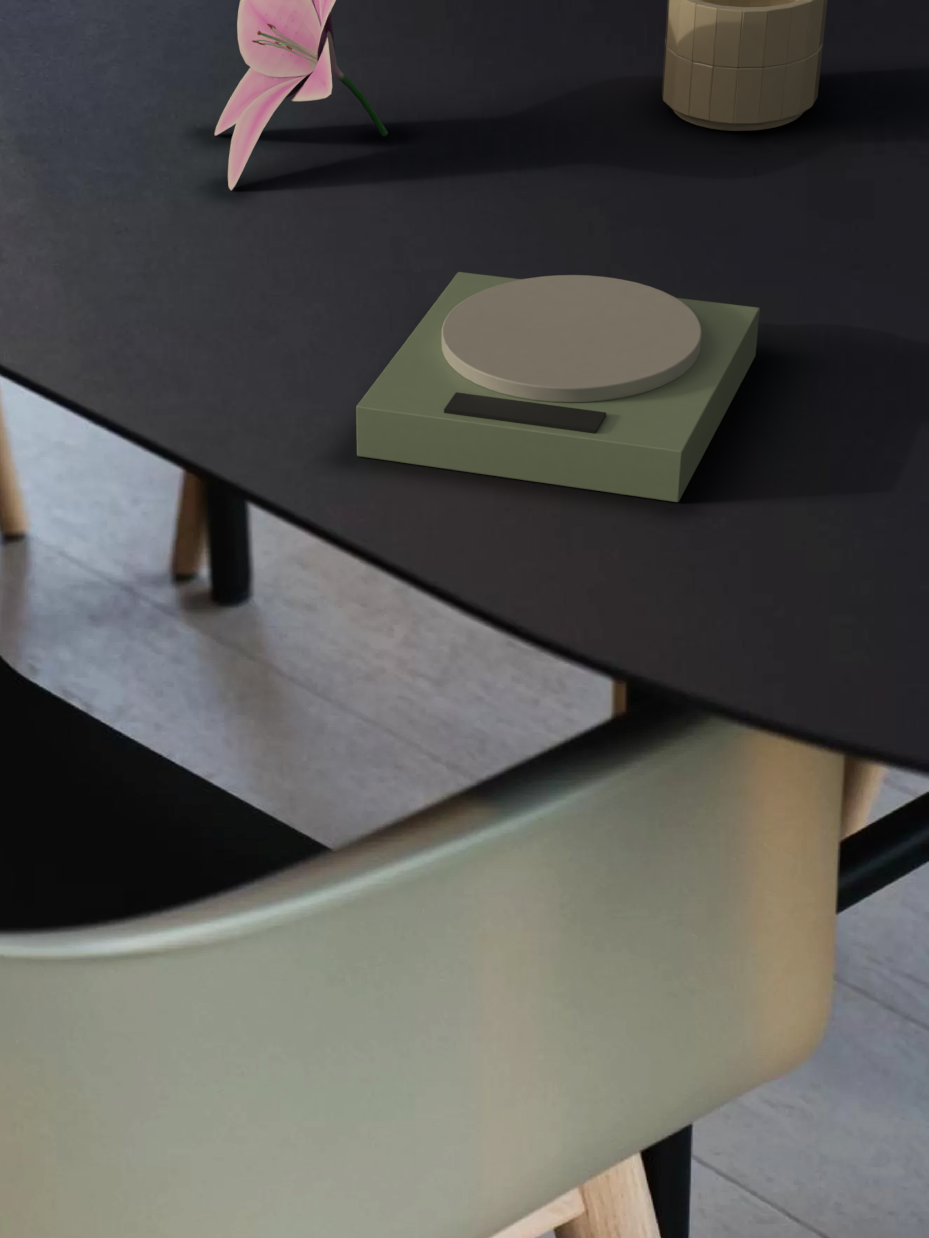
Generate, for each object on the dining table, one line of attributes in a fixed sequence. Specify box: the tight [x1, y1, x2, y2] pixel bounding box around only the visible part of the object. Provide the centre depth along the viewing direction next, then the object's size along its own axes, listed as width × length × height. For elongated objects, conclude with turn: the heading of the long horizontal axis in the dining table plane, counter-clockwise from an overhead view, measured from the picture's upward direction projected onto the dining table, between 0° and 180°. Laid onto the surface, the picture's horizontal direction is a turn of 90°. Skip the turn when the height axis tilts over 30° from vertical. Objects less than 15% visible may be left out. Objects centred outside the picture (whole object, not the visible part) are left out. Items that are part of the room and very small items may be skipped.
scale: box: [355, 271, 761, 503], centre depth 94 cm, size 12×12×3 cm
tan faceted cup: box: [661, 0, 829, 132], centre depth 115 cm, size 7×7×6 cm
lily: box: [214, 0, 389, 191], centre depth 113 cm, size 12×12×10 cm
